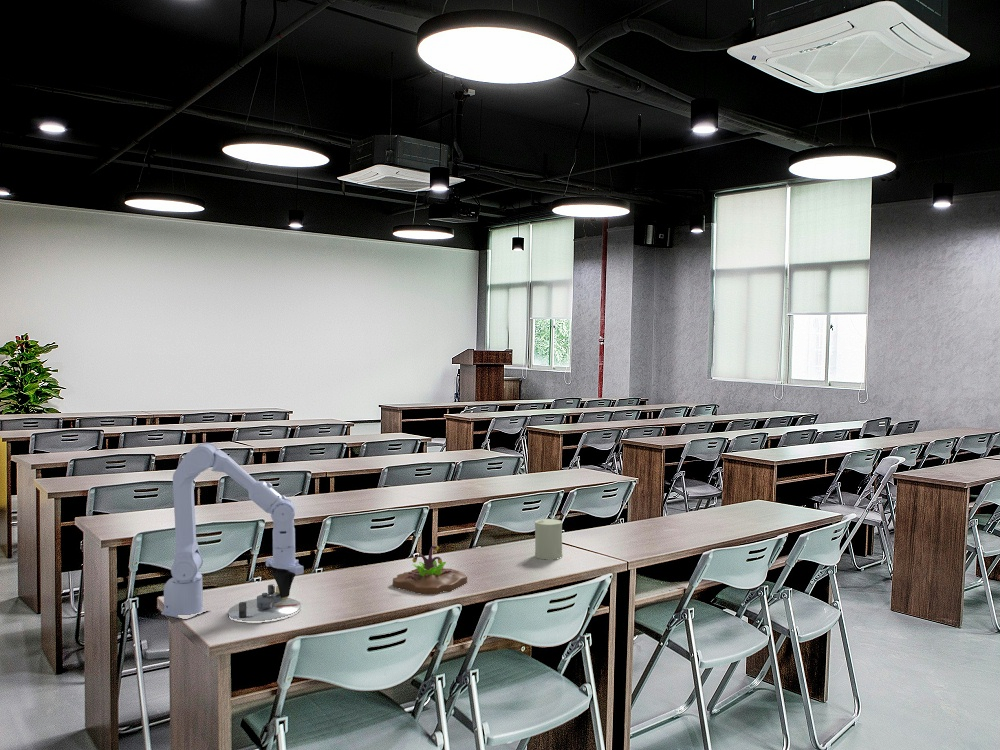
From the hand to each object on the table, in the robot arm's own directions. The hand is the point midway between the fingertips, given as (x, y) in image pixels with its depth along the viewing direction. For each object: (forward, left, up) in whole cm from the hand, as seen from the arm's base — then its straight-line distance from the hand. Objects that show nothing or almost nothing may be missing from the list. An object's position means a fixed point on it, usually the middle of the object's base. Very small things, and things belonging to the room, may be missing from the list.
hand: (284, 596), depth 201 cm
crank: (-2, -3, -1) cm, 3 cm away
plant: (+23, +35, -3) cm, 42 cm away
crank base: (-1, -6, -2) cm, 6 cm away
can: (+42, +78, -3) cm, 89 cm away
